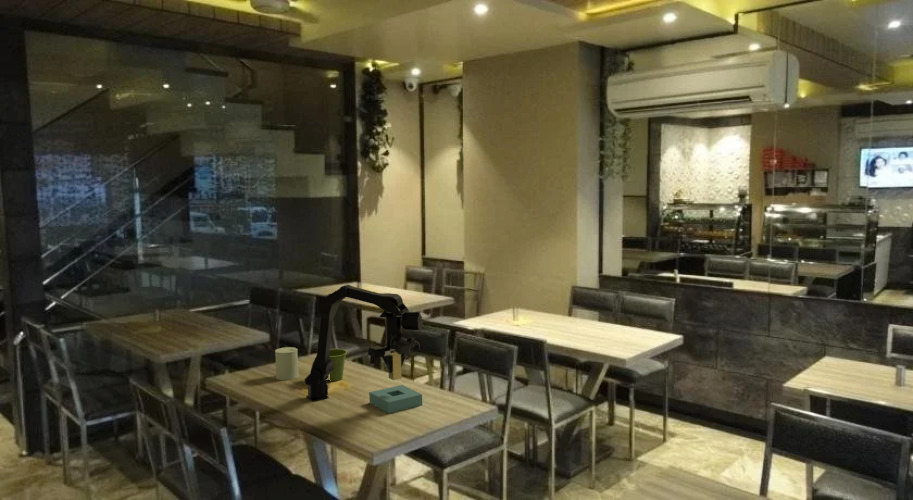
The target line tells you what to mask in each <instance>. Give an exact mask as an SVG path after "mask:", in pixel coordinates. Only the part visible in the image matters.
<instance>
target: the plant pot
mask: <svg viewBox="0 0 913 500" xmlns="http://www.w3.org/2000/svg"><path fill="white" fill-rule="evenodd" d="M347 354H348V351H347V350H346V349H343V348H330V353H329V355H330V358H331V360H334V364H333V368H334V370H332V372H331V374H330V380H331V381H330V382H338V381H340V380H342V379H343V376H344V368H345V363H346V362H345V361H346V357H347Z"/></svg>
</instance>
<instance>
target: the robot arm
mask: <svg viewBox="0 0 913 500" xmlns="http://www.w3.org/2000/svg"><path fill="white" fill-rule="evenodd" d="M346 298H350V299H353V300H357V301H360V302H365V303H368V304H371V305H375V306H377V307H378V308H379V309H381V310H382V311H383V312H381V314H380V315H379V318H385V320H384V321H385V331H383V334H384V335H385V342H384V343H383V344H384V346H385V347H384V346H383V347H382V346H379V345H375V346H370V347H369V348H368V350H367V355H368V356H370V357H373V358H376V359H378V358H382V360H383V362H384V364H385V366H386V368H387V371H388V373H389V372H390V373H392V363H391V359H392V357H393V356H392V355H390V353H393V352H397V353H398V354H401V369H402V368H403V365H404V362H405V359H406V357H407V356H408V355H410V354H411V350H412V351H414V352H415V351H418V350H421V348H420V347H421V345H420V342H419V341H416V339H415V338H414V337H408V338H405V334H404V332H403V331H402V329H403V330H404V331H422V329H423V324H424V323H423V322H424V320H423V317H422V315H421V311H418V310H416V311H410V310H409V308H408V307H407V306H406V305H405V303H404V301H403V298H402V296H401V295H400V294H398V293H389V292H388V293H387V292H386V293H385V292H384V293H382V292H376V291H372V290H368V289H363V288H360V287H356V286H353V285H350V284H344V285H342V286H340V287H339V288H338V289H337V290H335V291H333V292H332V293H328V294H325V295H323V296H320V297H319V298H318V300H317V313H318V316H319V320H320V321H319V326H318V327H319V330H318V338H317V349H316V356H315V357H314V360H313V361H312V364H311V368H310V371H309V372H310V373H309V374H308V375H307V376H306V377H305V378H304V384H305V385H307V395H306V397H305V398H307V399H309V400H310V401H312V402H315V401H320V400H325V399H329V398H330V397H329V396H328V395H329V390H328V384H327V380H326V379H327V378H328V375H329V374H331V372H332V370H334V368H333V364H334V360H331V358H330V355H329V353H330V349H331V340H332V333H333V323H334V317H335V316H336V313H337V312H338V308H339V305H340V303H341V302H342V301H343V300H344V299H346Z"/></svg>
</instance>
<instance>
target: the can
mask: <svg viewBox="0 0 913 500" xmlns="http://www.w3.org/2000/svg"><path fill="white" fill-rule="evenodd" d="M298 350H299V349H298V348H296V347H293V346H292V347H291V346H285V347H281V348H277V349H275V350H274V354H275V379H277V380H280V381H289V380H294V379H297V378H298V377H299V376H300V375H299V361H298Z"/></svg>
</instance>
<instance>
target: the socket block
mask: <svg viewBox="0 0 913 500" xmlns="http://www.w3.org/2000/svg"><path fill="white" fill-rule="evenodd" d="M368 395H369V403H370V404H371V405H373V406H375V407H377V408H378V409H380V410H382V411H383V412H384V413H385V412H386V413H388V414H393V413H395V412H400V411H404V410H407V409H412V408H413V409H414V408H417V407H420V406H423V394H422V393H420V392H418V391H416V390H414V389H412V388H409V387H408V386H405V385H404V384H400V385H395V386H390V387H386V388H382V389H378V390H372V391H370V392H369V393H368Z"/></svg>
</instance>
